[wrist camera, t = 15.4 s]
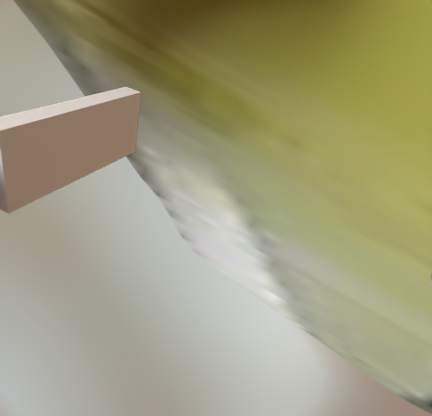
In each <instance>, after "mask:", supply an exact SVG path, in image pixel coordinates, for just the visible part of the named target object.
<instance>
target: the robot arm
mask: <svg viewBox="0 0 432 416" xmlns="http://www.w3.org/2000/svg"><path fill="white" fill-rule="evenodd" d="M140 97H141V92H139V91H136V90H134V89H131V88H128V87H123V88H118V89H114V90H110V91H106V92H102V93H98V94H93V95H89V96H85V97H81V98H77V99H72V100H68V101H64V102H60V103H56V104H52V105H47V106H43V107H39V108H35V109H31V110H26V111H22V112H18V113H14V114H10V115H5V116H1V117H0V209H1V210H3V211H5V212H7V213H11V212H13V211H15V210H17V209H19V208H21V207H23V206H25V205H27V204H29V203H31V202H33V201H35V200H37V199H39V198H41V197H43V196H45V195H47V194H49V193H51V192H54V191H56V190H57V189H59V188H62V187H64V186H66V185H68V184H70V183H72V182H74V181H76V180H78V179H80V178H82V177H84V176H86V175H88V174H90V173H92V172H94V171H96V170H98V169H100V168H103V167H105V166H107V165H109V164H111V163H113V162H115V161H117V160H119V159H121V158H123V157H125V156H127V155H129V154H131V153H133V152H135V149H136V139H137V128H138V118H139V107H140ZM431 283H432V274H431Z"/></svg>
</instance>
